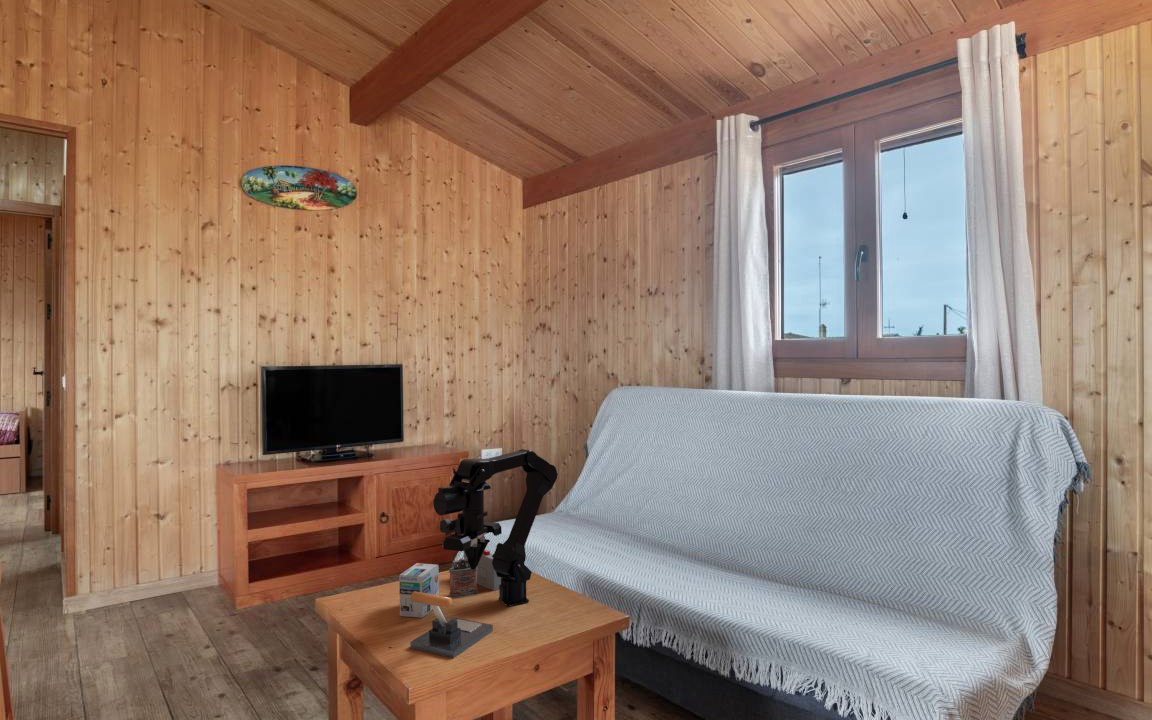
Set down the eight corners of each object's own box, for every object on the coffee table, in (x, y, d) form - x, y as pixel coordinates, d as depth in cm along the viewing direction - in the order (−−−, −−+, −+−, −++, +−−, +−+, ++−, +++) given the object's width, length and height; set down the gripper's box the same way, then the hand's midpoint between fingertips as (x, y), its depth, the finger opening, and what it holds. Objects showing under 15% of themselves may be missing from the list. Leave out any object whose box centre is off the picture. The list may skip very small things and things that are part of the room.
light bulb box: (423, 618, 170) (422, 576, 170) (398, 616, 171) (398, 575, 171) (439, 603, 180) (439, 563, 180) (416, 601, 181) (416, 562, 181)
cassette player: (502, 588, 191) (501, 554, 191) (494, 591, 189) (494, 556, 189) (471, 576, 203) (471, 543, 202) (463, 578, 201) (463, 545, 201)
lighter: (450, 598, 184) (450, 562, 184) (448, 594, 187) (447, 559, 187) (479, 594, 187) (478, 558, 187) (476, 590, 190) (475, 555, 190)
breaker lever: (430, 617, 157) (414, 589, 152) (465, 624, 153) (450, 595, 148) (425, 625, 155) (409, 597, 150) (460, 632, 151) (445, 603, 146)
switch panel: (452, 622, 167) (452, 601, 167) (492, 630, 161) (492, 608, 161) (410, 648, 152) (410, 624, 152) (453, 658, 147) (453, 633, 147)
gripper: (467, 498, 183) (468, 555, 183) (424, 513, 166) (425, 575, 166) (502, 502, 178) (502, 560, 178) (461, 517, 161) (462, 581, 161)
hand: (473, 569), depth 171 cm, fingers closed
